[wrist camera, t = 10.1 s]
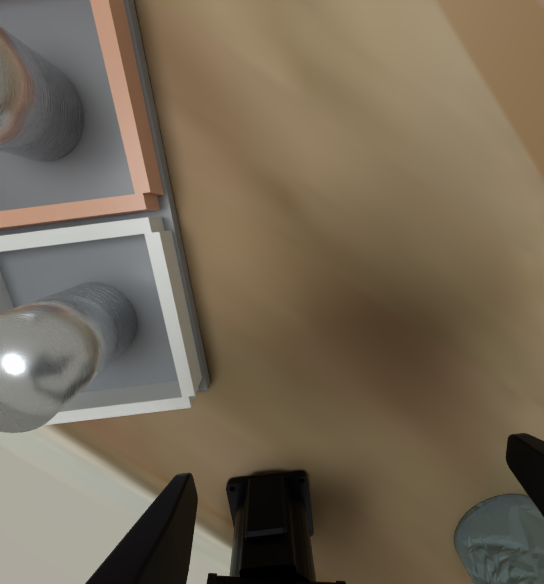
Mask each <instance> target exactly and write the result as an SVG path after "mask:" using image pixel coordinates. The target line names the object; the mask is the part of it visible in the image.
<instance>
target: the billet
mask: <svg viewBox="0 0 544 584" xmlns="http://www.w3.org/2000/svg"><path fill="white" fill-rule="evenodd" d="M137 330H138V319H137V314H136V311H135V309H134V307H133V305H132V304H131V302H130V301H129V300H128V298H127V297H126V296H125V295H124V294H123V293H121V292H120V291H119V290H117V289H115V288H113V287H111V286H109V285H106V284H102V283H95V282H90V283H83V284H80V285H77V286H74V287H71V288H68V289H66V290H63V291H60V292H57V293H55V294H52V295H49V296H46V297H44V298H41V299H38V300H35V301H32V302H30V303H27V304H24V305H21V306H19V307H16V308H13V309H10V310H8V311H5V312H2V313H0V432H10V433H17V432H26V431H30V430H33V429H36V428H38V427H41V426H43V425H44V424H46V423H47V422H49V421H50V420H51V419H52V418H53V417H54V416H55V415H56V414H57V413H58V412H59V411H60V410H62V409H63V408H64V407H65V406H66V405H67V404H68V403H69V402H70V401H71V400H72V399H73V398H74V397H75V396H76V395H77V394H79V393H80V392H81V391H82V390H83V389H84V388H85V387H86V386H87V385H88V384H89V383H90V382H91V381H92V380H93V379H94V378H96V377H97V376H98V375H99V374H100V373H101V372H102V371H103V370H104V369H105V368H106V367H107V366H108V365H109V364H110V363H111V362H113V361H114V360H115V359H116V358H117V357H118V356H119V355H120V354H121V353H122V352H123V351H124V350H125V349H126V348H127V347H128V346H130V344H131V343H132V342H133V340H134V339H135V336H136V334H137Z"/></svg>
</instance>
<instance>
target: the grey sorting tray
mask: <svg viewBox="0 0 544 584" xmlns="http://www.w3.org/2000/svg"><path fill="white" fill-rule="evenodd" d="M0 26H1V27H2V28H4V29H5V30H6V31H8V32H9V33H10V34H12V35H13V36H15V37H16V38H17V39H19V40H20V41H22V42H23V43H24V44H26V45H27V46H28V47H30V48H31V49H33V50H34V51H35V52H37V53H38V54H40V55H41V56H42V57H44V58H45V59H46V60H48V61H49V62H51V63H52V64H53V65H55V66H56V67H58V68H59V69H60V70H61V71H62V72H63V73H64V74H65V75H66V76H67V77H68V78H69V79H70V81H71V82H72V83H73V85H74V86H75V88H76V90H77V92H78V94H79V96H80V99H81V102H82V105H83V110H84V129H83V133H82V137H81V139H80V141H79V143H78V145H77V146H76V148H75V149H74V150H73V151H72V152H71V153H69V154H68V155H67V156H65V157H63V158H61V159H58V160H54V161H37V160H33V159H29V158H25V157H21V156H17V155H13V154H9V153H5V152H1V151H0V313H2V312H5V311H8V310H10V309H13V308H16V307H19V306H21V305H24V304H27V303H30V302H32V301H35V300H38V299H41V298H44V297H46V296H49V295H52V294H55V293H57V292H60V291H63V290H66V289H68V288H71V287H74V286H77V285H80V284H83V283H90V282H95V283H102V284H106V285H109V286H111V287H113V288H115V289H117V290H119V291H120V292H121V293H123V294H124V295H125V296H126V297H127V298H128V300H129V301H130V302H131V304H132V305H133V307H134V309H135V311H136V314H137V319H138V330H137V334H136V336H135V339H134V340H133V342H132V343H131V344H130V346H128V347H127V348H126V349H125V350H124V351H123V352H122V353H121V354H120V355H119V356H118V357H117V358H116V359H115V360H114V361H113V362H111V363H110V364H109V365H108V366H107V367H106V368H105V369H104V370H103V371H102V372H101V373H100V374H99V375H98V376H97V377H96V378H94V379H93V380H92V381H91V382H90V383H89V384H88V385H87V386H86V387H85V388H84V389H83V390H82V391H81V392H80V393H79V394H77V395H76V396H75V397H74V398H73V399H72V400H71V401H70V402H69V403H68V404H67V405H66V406H65V407H64V408H63V409H62V410H60V411H59V412H58V413H57V414H56V415H55V416H54V417H53V418H52V419H51V420H50V421H49V422H47V423H46V424H44V425H50V424H58V423H67V422H75V421H83V420H92V419H100V418H108V417H117V416H125V415H133V414H142V413H150V412H158V411H167V410H175V409H183V408H191V407H192V404H193V402H194V399H195V396H196V394H197V392H198V391H207V390H208V387H209V384H210V379H209V374H208V369H207V364H206V359H205V354H204V349H203V344H202V339H201V334H200V329H199V324H198V319H197V314H196V309H195V304H194V299H193V294H192V289H191V284H190V279H189V274H188V269H187V264H186V259H185V254H184V249H183V244H182V239H181V234H180V229H179V224H178V219H177V214H176V209H175V204H174V199H173V194H172V189H171V184H170V179H169V174H168V169H167V164H166V159H165V154H164V149H163V144H162V139H161V134H160V129H159V124H158V119H157V114H156V109H155V104H154V99H153V94H152V89H151V84H150V79H149V74H148V69H147V64H146V59H145V54H144V49H143V44H142V39H141V34H140V29H139V24H138V19H137V14H136V9H135V4H134V0H0Z"/></svg>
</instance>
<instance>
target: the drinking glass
mask: <svg viewBox="0 0 544 584" xmlns="http://www.w3.org/2000/svg"><path fill="white" fill-rule="evenodd" d="M454 542H455V546H456V549H457V552H458V554H459V556H460V558H461V560H462V562H463V564H464V566H465V568H466V570H467V571H468V573H469V575H470V576H471V578H472V580H473V582H474V584H544V517H543V516H542V514H541V513H540V511H539V510H538V508H537V507H536V505H535V504H534V503H533V501H532V500H531V498H530V497H528V496H524V495H518V494H509V495H499V496H496V497H493V498H490V499H487V500H485V501H484V502H480V503H478V504H477V505H476V506H475V507H473V508H471V510H470V511H468V512H467V513H466V515H464V517H463V518H462V519H461V521H460V522H459V525H458V526H457V529H456V530H455V534H454Z"/></svg>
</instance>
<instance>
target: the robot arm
mask: <svg viewBox="0 0 544 584" xmlns="http://www.w3.org/2000/svg"><path fill="white" fill-rule="evenodd" d="M506 461H507V464H508V466H509V468H510V470H511V471H512V472H513V474H514V475H515V477H516V478H517V480H518V481H519V483H520V484H521V485H522V487H523V488H524V490H525V491H526V493H527V494H528V495H529V497H530V498H531V500H532V501H533V503H534V504H535V505H536V507H537V508H538V510H539V511H540V513H541V514H542V516H543V517H544V441H542V440H540V439H538V438H536V437H533V436H531V435H529V434H526V433H520V434H512V435H510V436H509V437H508V441H507V450H506ZM300 478H302V479H300ZM232 486H234V487H232ZM226 491H227V496H228V501H229V506H230V510H231V515H232V520H233V525H234V537H233V547H232V557H231V567H230V576H217V574H216V573H209V574H208V579H207V584H346V583H345V581H336V583H333V582H316V576H315V569H314V562H313V555H312V547H311V540H310V536H312V535H313V533H314V531H313V522H312V513H311V504H310V495H309V486H308V478H307V474H306V473H305V472H303V471H299V472H291V473H282V474H274V475H265V476H257V477H248V478H240V479H232V480H229V481H228V482H227V486H226ZM197 502H198V497H197V491H196V487H195V483H194V479H193V476H192V474H191V473H182V474H177V475H176V476H175V477H174V478H173V479H172V480H171V481H170V483H169V484H168V485H167V486H166V487H165V489H164V490H163V491H162V492H161V493H160V495H159V496H158V497H157V498H156V499H155V501H154V502H153V503H152V504H151V505H150V507H149V508H148V509H147V510H146V511H145V513H144V514H143V515H142V516H141V517H140V519H139V520H138V521H137V522H136V523H135V525H134V526H133V527H132V528H131V529H130V531H129V532H128V533H127V534H126V535H125V537H124V538H123V539H122V540H121V541H120V543H119V544H118V545H117V546H116V548H115V549H114V550H113V551H112V552H111V553H110V555H109V556H108V557H107V558H106V559H105V561H104V562H103V563H102V564H101V565H100V567H99V568H98V569H97V570H96V572H95V573H94V574H93V575H92V576H91V578H90V579H89V580H88V581H87V582H86V583H85V584H186V581H187V576H188V571H189V564H190V557H191V549H192V542H193V534H194V526H195V519H196V511H197Z"/></svg>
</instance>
